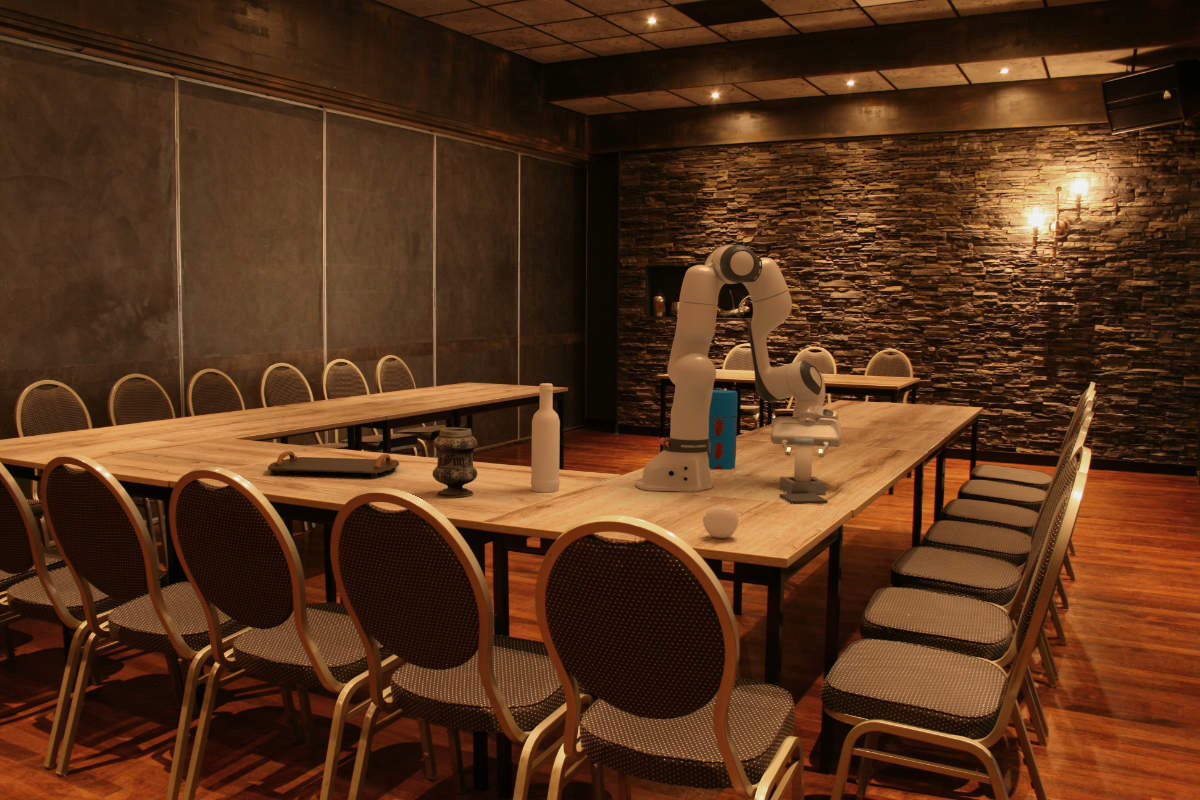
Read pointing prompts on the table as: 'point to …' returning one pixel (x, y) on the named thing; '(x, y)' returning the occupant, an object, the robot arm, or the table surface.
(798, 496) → the mat
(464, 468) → the apothecary jar
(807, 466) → the cylinder
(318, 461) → the serving board
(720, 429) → the red-spotted teal box
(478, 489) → the table surface
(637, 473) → the table surface
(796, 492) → the collar
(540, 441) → the bottle
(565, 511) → the table surface
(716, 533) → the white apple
